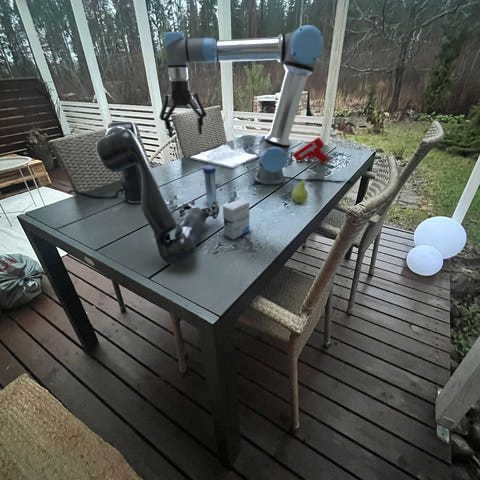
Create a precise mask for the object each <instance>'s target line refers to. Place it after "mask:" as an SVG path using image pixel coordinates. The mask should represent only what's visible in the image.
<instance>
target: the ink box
mask: <svg viewBox="0 0 480 480" xmlns="http://www.w3.org/2000/svg"><path fill="white" fill-rule="evenodd" d="M222 213H223V233H224V236H225V237H227V238H229V239H231V240H235V239H237V238H239V237H241V236H242V235H244V234H247V233H248V232H250V202H249V201H246V200H244V199H242V198H238V199H236V200H234V201H232V202H229V203H226V204H224V205H222Z"/></svg>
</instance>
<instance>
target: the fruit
mask: <svg viewBox="0 0 480 480" xmlns="http://www.w3.org/2000/svg"><path fill="white" fill-rule="evenodd" d="M310 177H311V175H310V174H309V175H308V176H307V177H305V178H304V179H305V180H306V179H310ZM305 180H302V181H299V182H298V184H297V185H296V186H295V187H294V188H293V190H292V191H291V198H292V200H293V201H294V202H295V203H297V204H301V203H304V202H305V201H306V200H307V198H308V196H309V195H308V190H307V189H306V184H305V183H306V181H305Z"/></svg>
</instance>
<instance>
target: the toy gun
mask: <svg viewBox="0 0 480 480" xmlns="http://www.w3.org/2000/svg"><path fill="white" fill-rule="evenodd" d="M324 145H325V143H324V142H323V140H322V138H321V137H320V136H318V137H316V138H314V139H313V140H311V141H310V142H308V143H306V145H304V146H303V147H301V148H299V149H298V150H296V151H295V152H294V153H293V158H294V159H295V160H296V163H300V162H301V161H297V160H302V161H303V160H305V159H306V158H309V160H313V159H314V158H316V159H317V160H319V161H320V163H321V162H324V163H325V161H326V163H327V162H328V159H329V156H328V155H327V154H326V153H325V152H323V151H322V150H321V149H323V147H324ZM324 163H321V165H323V164H324Z"/></svg>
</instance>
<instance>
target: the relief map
mask: <svg viewBox="0 0 480 480" xmlns="http://www.w3.org/2000/svg"><path fill="white" fill-rule="evenodd" d="M258 157H259V155H256V154H252V153H247V152H246V151H245V150H244V148H238V149H233V148H231V147H230V146H229V145H228V144H222V145H219V147H215V148H213V149H210V150H206V151H201V152H200V153H198V154H194V155H191V156H190V159H191V160H196V161H199V162H203V163H207V164H212V165H214V166H221V167H224V168H229V169H235V168H237V167H239V166H241V165H244V164H246V163H250V162H251V161H253V160H256V159H258Z"/></svg>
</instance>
